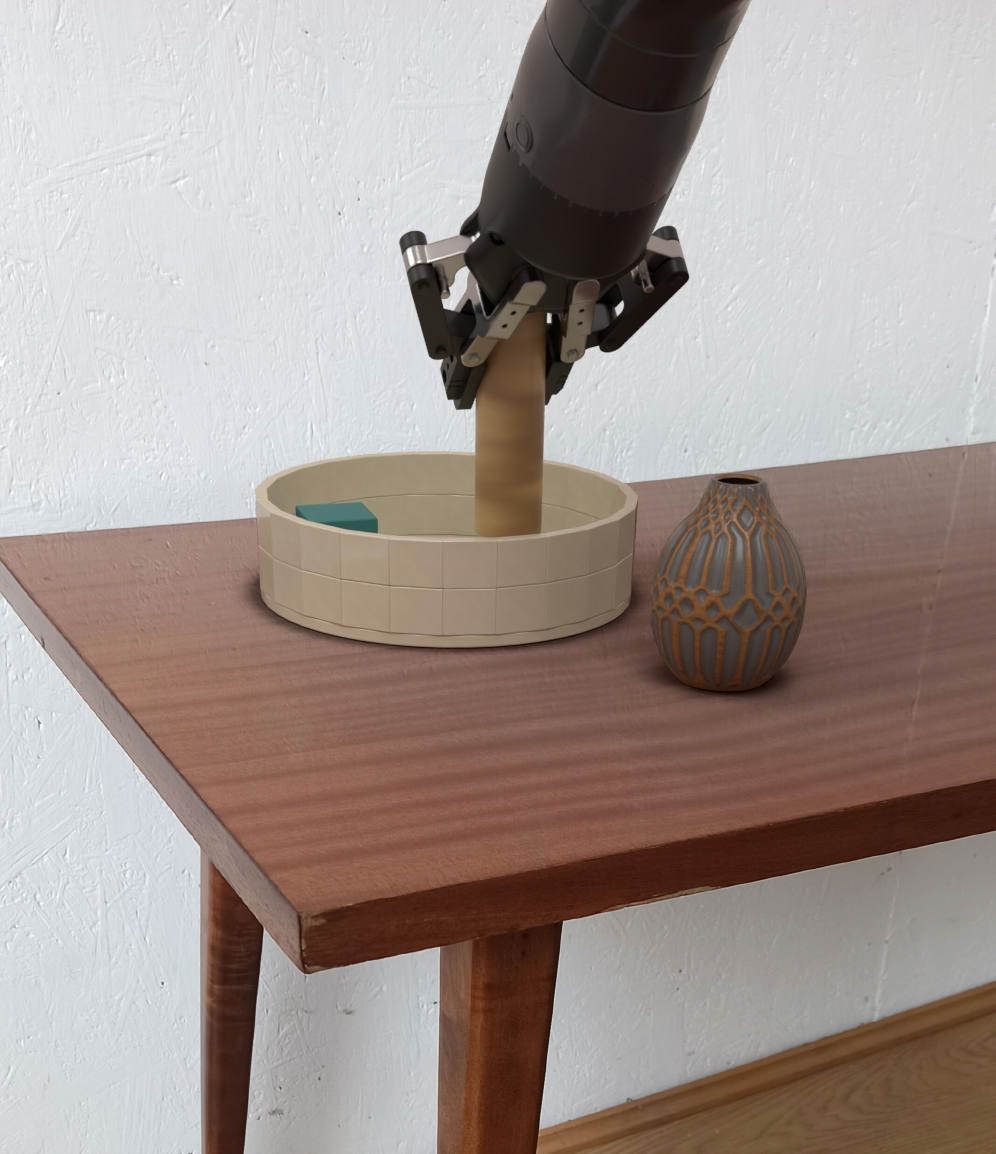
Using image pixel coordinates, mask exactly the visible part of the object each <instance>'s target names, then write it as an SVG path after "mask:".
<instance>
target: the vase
mask: <svg viewBox="0 0 996 1154" xmlns="http://www.w3.org/2000/svg"><path fill="white" fill-rule="evenodd" d="M806 576H807V575H806V570H805V564H804V559H803V555H802V552H801V550H800V547H799V545H798V542H797V540H796V539H795V537H794V535H793V534H792V532H791V530H790V528H789V526H788V525H787V524H786V522H785V520H784V519H783V517H782V516H781V514H780V512H779V511H778V510H777V507H776V505H775V503H774V501H773V499H772V496H771V492H770V488H769V485H768V483H767V481H766V479H765V478H763V477H761V476H758V475H753V474H747V473H721V474H716V475H714V476H712V477H711V478H710V480H709V481H708V483H707V485H706V488H705V490H704V491H703V493H702V495H701V497H700V498H699V500H698V502H697V503H696V504H695V505H694V506H693V507H692V508H691V510H690V511H689V512H688V513H687V514H686V515H685V517H684V518H683V519H682V520H681V522H680V523H679V524H678V525H677V526H676V527H675V529H673V531H672V533H671V534H670V535H669V536H668V538H667V540H666V541H665V543H664V544H663V547H662V549H661V552H660V553H659V556H658V557H657V561H656V564H655V567H654V570H653V574H652V579H651V583H650V591H649V620H650V629H651V633H652V637H653V641H654V644H655V647H656V649H657V652H658V655H659V656H660V658H661V660H662V661H663V663H664V664H665V665H666V666H667V668H668V669H669V670H670V671H671V672H672V674H673V675H674V676H675V677H676V678H677V679H678V680H679V681H681V682H682V683H683V684H686V685H688V686H689V687H693V688H698V689H700V690H701V689H702V690H707V691H714V692H740V691H748V690H753V689H756V688H758V687H760V686H762V685H763V684H764V683H765V682H767V681H768V680H770V679H771V678H772V677H773V676H774V675H775V674H776V673H778V672H779V671H780V669H781V668H782V667H783V666H784V665H785V664H786V663H787V661H788V659H789V658H790V656H791V654H792V653H793V651H794V648H795V647H796V644H797V643H798V640H799V637H800V634H801V631H802V628H803V625H804V618H805V614H806V605H807V595H808V592H807V591H808V589H807V585H808V584H807V577H806Z"/></svg>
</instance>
